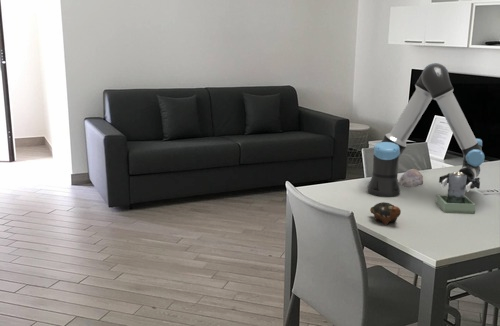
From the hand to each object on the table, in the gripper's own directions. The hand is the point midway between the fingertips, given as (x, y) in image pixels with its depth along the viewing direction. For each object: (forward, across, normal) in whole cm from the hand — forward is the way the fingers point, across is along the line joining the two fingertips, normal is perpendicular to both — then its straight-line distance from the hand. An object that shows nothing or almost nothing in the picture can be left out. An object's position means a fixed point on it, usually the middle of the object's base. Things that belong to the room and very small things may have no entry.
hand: (455, 186), depth 226 cm
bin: (-4, 0, -11) cm, 12 cm away
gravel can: (-5, 0, -10) cm, 11 cm away
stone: (-35, +28, -11) cm, 46 cm away
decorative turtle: (+30, +20, -11) cm, 37 cm away
